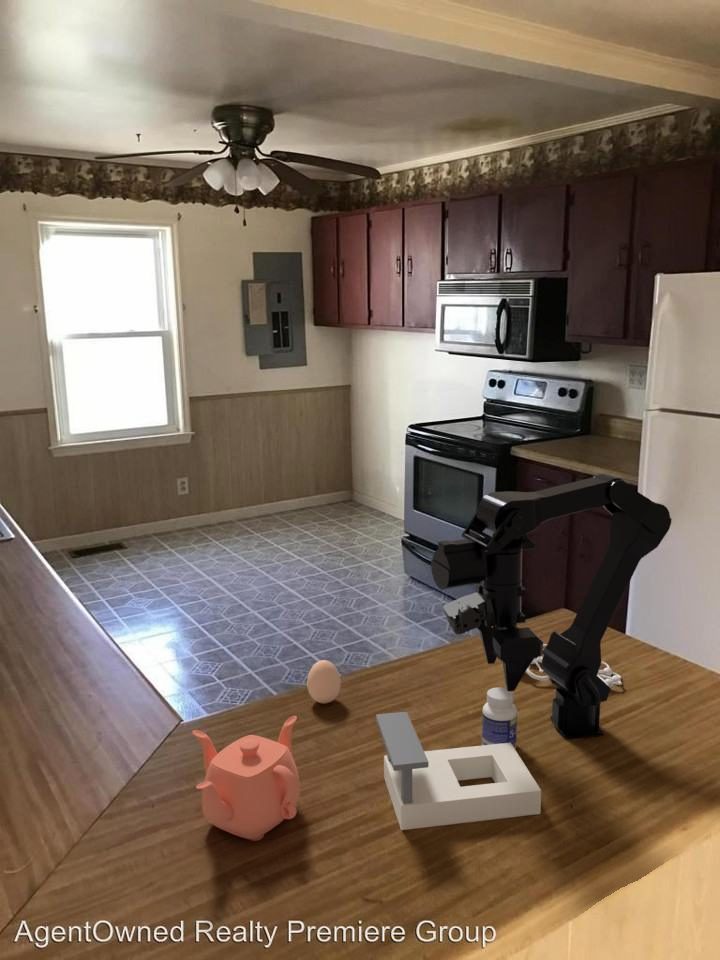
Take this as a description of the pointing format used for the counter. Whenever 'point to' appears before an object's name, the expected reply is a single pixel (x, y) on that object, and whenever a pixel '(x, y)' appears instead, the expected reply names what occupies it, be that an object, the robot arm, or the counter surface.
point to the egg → (323, 682)
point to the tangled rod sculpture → (606, 673)
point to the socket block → (452, 779)
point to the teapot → (250, 783)
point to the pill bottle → (499, 718)
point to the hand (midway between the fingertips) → (500, 676)
